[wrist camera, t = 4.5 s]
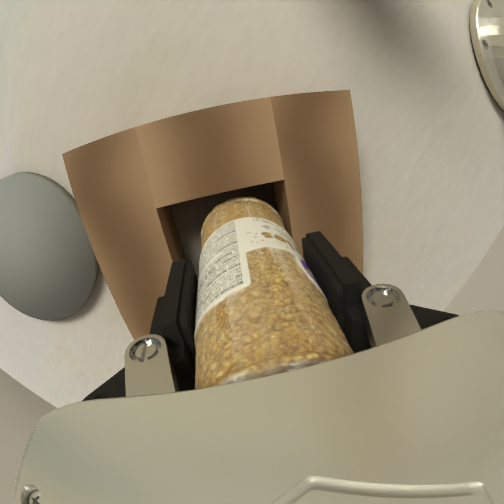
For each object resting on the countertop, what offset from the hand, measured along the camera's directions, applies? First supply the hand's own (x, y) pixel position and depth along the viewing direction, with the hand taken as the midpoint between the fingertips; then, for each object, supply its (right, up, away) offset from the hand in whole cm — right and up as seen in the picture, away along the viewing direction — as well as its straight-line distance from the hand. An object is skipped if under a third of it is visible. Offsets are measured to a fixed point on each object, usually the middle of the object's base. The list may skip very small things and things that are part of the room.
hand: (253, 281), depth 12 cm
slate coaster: (-15, +1, +5) cm, 16 cm away
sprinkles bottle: (-1, +2, +5) cm, 5 cm away
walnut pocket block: (-1, +3, +6) cm, 7 cm away
